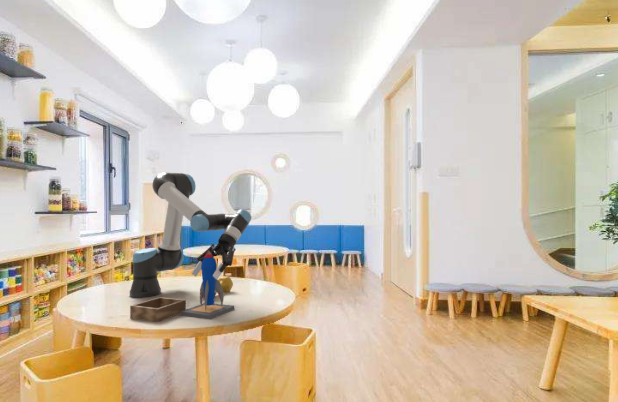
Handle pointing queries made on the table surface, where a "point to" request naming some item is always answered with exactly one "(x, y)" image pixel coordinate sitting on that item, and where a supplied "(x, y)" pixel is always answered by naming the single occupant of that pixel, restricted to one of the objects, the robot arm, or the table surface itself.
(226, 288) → the dumbbell
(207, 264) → the toy rocket
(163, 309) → the wooden tray
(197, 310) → the pad
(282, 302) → the table surface
